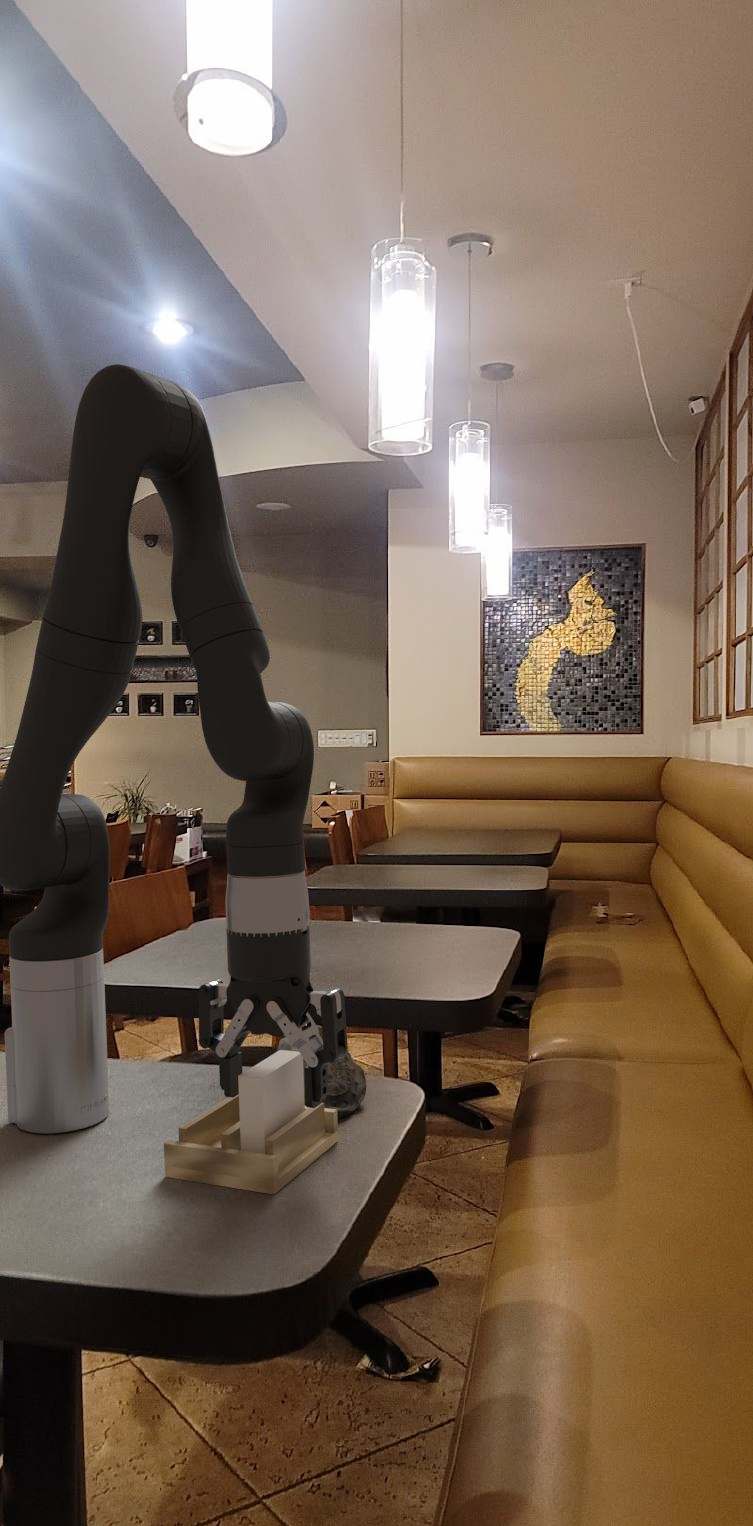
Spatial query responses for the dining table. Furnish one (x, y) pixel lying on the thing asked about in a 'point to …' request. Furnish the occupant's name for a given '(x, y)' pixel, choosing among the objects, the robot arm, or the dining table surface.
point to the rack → (219, 1160)
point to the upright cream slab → (270, 1098)
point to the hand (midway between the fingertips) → (273, 1099)
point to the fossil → (338, 1081)
